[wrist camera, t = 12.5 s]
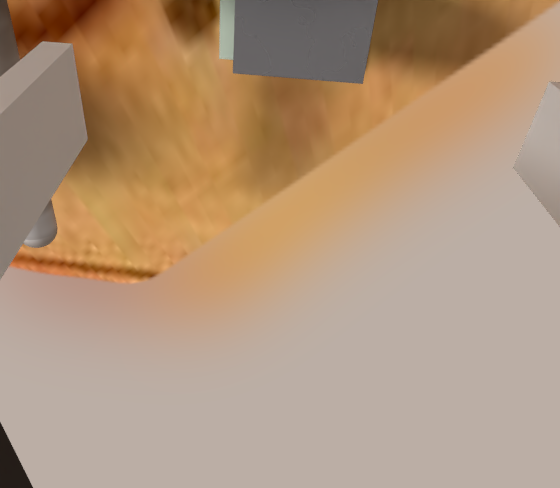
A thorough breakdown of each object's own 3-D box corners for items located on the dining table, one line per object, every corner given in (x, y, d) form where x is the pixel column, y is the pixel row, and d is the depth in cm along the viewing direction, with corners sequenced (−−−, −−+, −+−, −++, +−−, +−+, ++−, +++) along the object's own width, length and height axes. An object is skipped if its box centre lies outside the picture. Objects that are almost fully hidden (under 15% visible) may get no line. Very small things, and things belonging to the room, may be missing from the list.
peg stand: (-20, -212, 25) (-330, -293, 12) (123, -196, 25) (-30, -258, 12) (52, 140, 36) (-68, 290, 23) (150, 147, 37) (84, 298, 24)
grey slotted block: (246, -56, 28) (235, -25, 20) (350, -46, 29) (380, -12, 21) (243, 19, 31) (232, 73, 23) (339, 27, 31) (362, 83, 23)
